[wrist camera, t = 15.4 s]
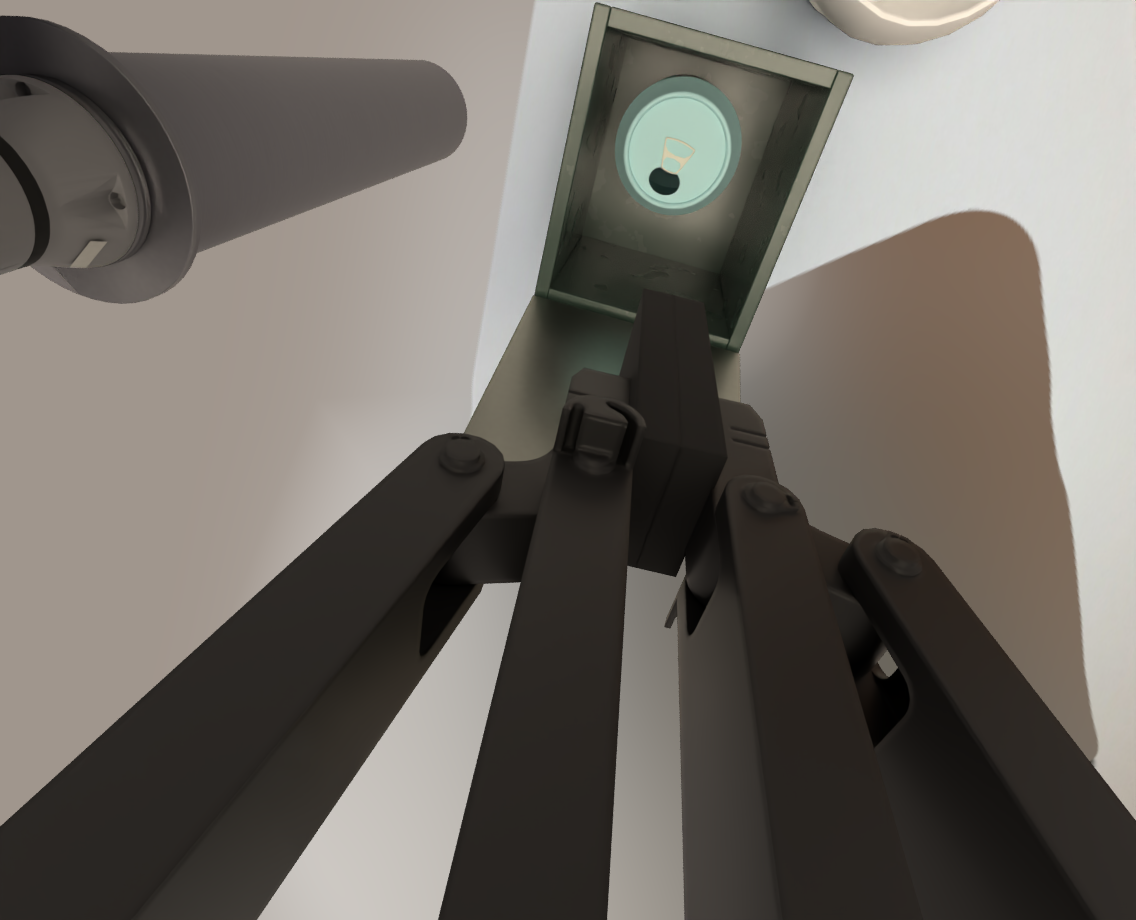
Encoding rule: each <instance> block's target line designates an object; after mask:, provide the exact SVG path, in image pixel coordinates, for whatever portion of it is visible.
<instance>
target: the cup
mask: <svg viewBox="0 0 1136 920" xmlns="http://www.w3.org/2000/svg"><path fill="white" fill-rule="evenodd" d="M809 1H810V2H811V4H812V5H813V7H814V8H815V9H816V10H817V11H818V12H820V13H821V14H822V15H824V16H825V17H826V18H827V19H828V21H829V22H831V23H832V24H833V25H835V26H836V27H837V28H839V29H840V30H842V31H843V32H844V33H846V34H847V35H848V36H850V37H852V38H855V39H858V40H861V41H865V42H868V43H871V44H874V45H909V44H918V43H922V42H925V41H929V40H932V39H935V38H939V37H942V36H946V35H949V34H951V33H953V32H955V31H956V30H958V29H960V28H962V27H963V26H965V25H967V24H969V23H970V22H972V21H974V20H976V19H977V18H979V17H981V16H982V15H984V14H985V13H986V12H987V11H988V10H989V9H990V8H992V7H993V6H994V5H995V4H996V3H997V2H998V1H1000V0H809Z"/></svg>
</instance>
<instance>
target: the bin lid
mask: <svg viewBox="0 0 1136 920" xmlns="http://www.w3.org/2000/svg"><path fill="white" fill-rule="evenodd" d="M632 328H633V323H630V322H626V321H623V320H619V319H616V318H612V317H609V316H605V315H602V314H598V313H595V312H591V311H587V310H584V309H580V308H577V307H573V306H570V305H566V304H563V303H559V302H556V301H552V300H549V299H545V298H542V297H538V296H535V295H534V296H533V297H532V299H531V301H530V303H529V305H528V307H527V309H526V311H525V313H524V315H523V317H522V319H521V321H520V323H519V325H518V326H517V328H516V330H515V332H514V334H513V336H512V338H511V340H510V342H509V344H508V346H507V348H506V350H505V352H504V354H503V356H502V358H501V360H500V362H499V364H498V366H497V368H496V370H495V372H494V374H493V376H492V378H491V380H490V382H489V384H488V386H487V388H486V390H485V392H484V394H483V396H482V398H481V400H480V402H479V404H478V406H477V408H476V410H475V412H474V414H473V416H472V418H471V420H470V422H469V424H468V426H467V428H466V430H465V432H464V434H470V435H473V436H477V437H481V438H483V439H485V440H487V441H489V442H490V443H492V444H494V445H495V446H496V447H497V448H498V449H499V450H500V452H501V453H502V454H503V457H504V461H528V460H532V459H537V458H539V457H541V456H544V455H546V454H547V453H548V452H549V451H550V450H552V449H553V447H554V444H555V440H556V435H557V431H558V426H559V422H560V418H561V413H562V409H563V407H564V405H565V403H566V398H567V394H568V390H569V386H570V382H571V378H572V376H574V375H575V374H576V373H578V372H579V371H580V370H582V369H583V368H584V367H585V368H589V369H593V370H597V371H602V372H606V373H610V374H614V375H618V376H619V374H620V371H621V367H622V363H623V360H624V356H625V353H626V349H627V346H628V342H629V339H630V335H631V331H632ZM711 351H712V357H713V364H714V370H715V377H716V384H717V390H718V397H719V398H723V399H727V400H731V401H735V402H739V403H741V400H740V399H741V398H740V354H739V353H736V352H732V351H728V350H725V349H721V348H718V347H714V346H711Z"/></svg>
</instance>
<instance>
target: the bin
mask: <svg viewBox="0 0 1136 920" xmlns="http://www.w3.org/2000/svg"><path fill="white" fill-rule="evenodd" d="M681 74H685V75H693V76H697V77H700V78H703V79H704V80H706V81H708V82H709V83H711V84H712V85H714V86H715V87H717V88H718V89H719V90H720V91H721V92H723V93H724V95H725V96H726V97H727V98H728V99H729V101H730V102H731V104H732V105H733V107H734V109H735V111H736V113H737V116H738V119H739V122H740V127H741V134H742V146H741V154H740V159H739V163H738V166H737V169H736V171H735V173H734V176H733V177H732V179H731V181H730V183H729V184H728V186H727V187H726V188H725V189H724V191H723V192H722V193H721V194H720V195H719V196H718V197H717V198H716V199H715V200H714V201H712V202H711V203H710V204H708V205H707V206H705V207H703V208H701V209H699V210H697V211H695V212H692V213H688V214H684V215H664V214H659V213H656V212H653V211H650V210H648V209H646V208H645V207H643V206H642V205H640V204H639V203H638V202H636V201H635V200H634V199H633V198H632V197H631V195H630V194H629V193H628V192H627V190H626V189H625V187H624V185H623V184H622V182H621V179H620V177H619V174H618V171H617V167H616V161H615V141H616V135H617V131H618V128H619V125H620V122H621V120H622V117H623V115H624V114H625V112H626V110H627V109H628V107H629V105H630V104H631V103H632V102H633V100H634V99H635V98H636V97H637V96H638V95H639V94H640V93H641V92H643V91H644V90H645V89H647V88H648V87H649V86H651V85H653V84H655V83H656V82H658V81H660V80H662V79H664V78H667V77H670V76H674V75H681ZM853 77H854V75H853V74H851V73H848V72H844V71H841V70H837V69H834V68H830V67H826V66H823V65H819V64H816V63H812V62H809V61H805V60H801V59H798V58H794V57H791V56H787V55H784V54H780V53H776V52H773V51H769V50H766V49H762V48H759V47H755V46H751V45H748V44H744V43H741V42H737V41H734V40H730V39H726V38H723V37H719V36H716V35H712V34H708V33H705V32H701V31H698V30H694V29H691V28H687V27H683V26H680V25H676V24H673V23H669V22H666V21H662V20H658V19H655V18H651V17H648V16H644V15H641V14H637V13H633V12H630V11H626V10H623V9H619V8H616V7H610V6H608V5H605V4H601V3H598V2H596V3H595V4H594V9H593V14H592V19H591V24H590V29H589V33H588V38H587V43H586V48H585V53H584V58H583V62H582V67H581V72H580V77H579V82H578V87H577V91H576V96H575V101H574V106H573V111H572V116H571V120H570V125H569V130H568V135H567V140H566V145H565V149H564V154H563V159H562V164H561V169H560V174H559V178H558V183H557V188H556V193H555V198H554V203H553V207H552V212H551V217H550V222H549V227H548V232H547V236H546V241H545V246H544V251H543V256H542V261H541V265H540V270H539V275H538V280H537V285H536V290H535V294H534V295H535V296H538V297H542V298H545V299H549V300H552V301H556V302H559V303H563V304H566V305H570V306H573V307H577V308H580V309H584V310H587V311H591V312H595V313H598V314H602V315H605V316H609V317H612V318H616V319H619V320H623V321H626V322H630V323H633V324H634V321H635V317H636V314H637V310H638V307H639V303H640V299H641V296H642V292H643V289H644V288H645V289H649V290H653V291H658V292H662V293H666V294H670V295H674V296H678V297H683V298H687V299H691V300H695V301H699V302H703V303H704V305H705V312H706V318H707V325H708V331H709V338H710V344H711V346H714V347H718V348H721V349H725V350H728V351H732V352H736V353H739V351H740V348H741V346H742V343H743V341H744V339H745V336H746V334H747V331H748V329H749V327H750V324H751V322H752V319H753V317H754V315H755V312H756V310H757V307H758V305H759V303H760V300H761V298H762V295H763V293H764V291H765V288H766V286H767V283H768V281H769V279H770V276H771V274H772V271H773V269H774V267H775V264H776V262H777V259H778V257H779V255H780V252H781V250H782V247H783V245H784V243H785V240H786V238H787V235H788V233H789V231H790V228H791V226H792V223H793V221H794V219H795V216H796V214H797V211H798V209H799V207H800V204H801V202H802V199H803V197H804V195H805V192H806V190H807V187H808V185H809V183H810V180H811V178H812V175H813V173H814V171H815V168H816V166H817V163H818V161H819V159H820V156H821V154H822V151H823V149H824V147H825V144H826V142H827V139H828V137H829V135H830V132H831V130H832V127H833V125H834V123H835V120H836V118H837V115H838V113H839V111H840V108H841V106H842V103H843V101H844V98H845V96H846V94H847V91H848V89H849V86H850V84H851V82H852V79H853Z"/></svg>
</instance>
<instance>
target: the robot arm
mask: <svg viewBox="0 0 1136 920" xmlns="http://www.w3.org/2000/svg"><path fill="white" fill-rule="evenodd" d="M150 220H151V203H150V196H149V190H148V186H147V182H146V179H145V176H144V173H143V171H142V168H141V166H140V164H139V161H138V159H137V157H136V155H135V153H134V151H133V150H132V148H131V146H130V145H129V143H128V141H127V140H126V139H125V137H124V136H123V134H122V133H121V131H120V130H119V129H118V128H117V126H116V125H115V124H114V123H113V122H112V120H111V119H110V118H109V117H108V116H107V115H106V114H105V113H104V112H103V111H102V110H101V109H100V108H99V107H98V106H97V105H96V104H95V103H93V102H92V101H91V100H90V99H88V98H87V97H86V96H84V95H83V94H82V93H80V92H79V91H77V90H76V89H74V88H72V87H70V86H69V85H67V84H65V83H63V82H60V81H58V80H56V79H53V78H50V77H47V76H42V75H37V74H5V75H0V275H1V274H4V273H7V272H11V271H13V270H16V269H20V268H23V267H27V266H48V267H67V268H96V267H104V266H108V265H111V264H114V263H117V262H120V261H123V260H125V259H127V258H129V257H131V256H132V255H133V254H134V253H136V252H137V251H138V249H139V248H140V247H141V246H142V244H143V243H144V241H145V239H146V236H147V234H148V231H149V226H150ZM684 557H685V561H686V575H685V578H684V580H683V582H682V584H681V587H680V589H679V591H678V593H677V596H676V598H675V600H674V602H673V605H672V607H671V609H670V611H669V614H668V616H667V618H666V622H665V627H666V628H671V626H672V624H673V621H674V619H675V618H676V617H677V624H678V665H679V705H680V706H679V707H680V748H681V789H682V831H683V872H684V911H685V912H684V914H685V920H1136V820H1135V819H1134V818H1133V817H1132V815H1131V814H1130V813H1129V811H1128V810H1127V809H1126V808H1125V806H1124V805H1123V804H1122V802H1121V801H1120V800H1119V798H1118V797H1117V796H1116V795H1115V793H1114V792H1113V791H1112V789H1111V788H1110V787H1109V786H1108V784H1107V783H1106V782H1105V780H1104V779H1103V778H1102V777H1101V775H1100V774H1099V773H1098V771H1097V770H1096V769H1095V768H1094V766H1093V765H1092V764H1091V762H1090V761H1089V760H1088V759H1087V757H1086V756H1085V755H1084V753H1083V752H1082V751H1081V750H1080V748H1079V747H1078V746H1077V744H1076V743H1075V742H1074V741H1073V739H1072V738H1071V737H1070V735H1069V734H1068V733H1067V731H1066V730H1065V729H1064V728H1063V726H1062V725H1061V724H1060V722H1059V721H1058V720H1057V719H1056V717H1055V716H1054V715H1053V713H1052V712H1051V711H1050V710H1049V708H1048V707H1047V706H1046V704H1045V703H1044V702H1043V701H1042V699H1041V698H1040V697H1039V695H1038V694H1037V693H1036V692H1035V690H1034V689H1033V688H1032V686H1031V685H1030V684H1029V683H1028V681H1027V680H1026V679H1025V677H1024V676H1023V675H1022V673H1021V672H1020V671H1019V670H1018V668H1017V667H1016V666H1015V664H1014V663H1013V662H1012V661H1011V659H1010V658H1009V657H1008V655H1007V654H1006V653H1005V652H1004V650H1003V649H1002V648H1001V647H1000V645H999V644H998V643H997V641H996V640H995V639H994V638H993V636H992V635H991V634H990V632H989V631H988V630H987V628H986V627H985V626H984V625H983V623H982V622H981V621H980V620H979V618H978V617H977V616H976V614H975V613H974V612H973V610H972V609H971V608H970V607H969V605H968V604H967V603H966V601H965V600H964V599H963V597H962V596H961V595H960V594H959V592H958V591H957V590H956V588H955V587H954V586H953V585H952V583H951V582H950V581H949V579H948V578H947V577H946V576H945V574H944V573H943V572H942V570H941V569H940V568H939V567H938V565H937V564H936V563H935V561H934V560H933V559H932V558H931V557H930V556H929V555H928V554H927V553H926V552H925V551H924V550H923V549H922V548H920V547H919V546H917V545H916V544H914V543H913V542H911V541H910V540H909V539H908V538H906V537H904V536H902V535H901V536H900V535H899V534H897V533H893V532H891V531H886V530H882V529H877V528H872V529H863V530H861V531H860V532H859V533H857V534H856V535H855V536H854V538H853V540H852V541H851V543H850V544H849V543H847V542H845V541H842V540H840V539H838V538H836V537H833V536H831V535H829V534H827V533H825V532H822V531H820V530H819V529H816V528H815V527H813V526H811V525H809V523H808V519H807V516H806V512H805V509H804V508H803V506H802V504H801V502H800V500H799V499H798V498H797V497H796V496H795V495H794V494H793V493H792V492H791V491H790V490H788V489H787V488H785V487H784V486H782V485H780V484H779V483H778V479H777V475H776V471H775V467H774V463H773V459H772V456H771V451H770V450H769V443H768V439H767V438H766V431H765V428H764V423H763V420H762V419H761V418H760V416H759V415H758V414H757V413H756V412H755V411H754V409H753V408H752V407H751V406H750V405H748V404H744V403H739V402H735V401H731V400H727V399H723V398H719V397H718V390H717V384H716V377H715V370H714V364H713V357H712V351H711V344H710V338H709V331H708V325H707V318H706V312H705V305H704V303H703V302H699V301H695V300H691V299H687V298H683V297H678V296H674V295H670V294H666V293H662V292H658V291H653V290H649V289H645V288H644V289H643V292H642V296H641V299H640V303H639V307H638V310H637V314H636V317H635V321H634V324H633V328H632V331H631V335H630V339H629V342H628V346H627V349H626V353H625V356H624V360H623V363H622V367H621V371H620V374H619V376H618V375H614V374H610V373H606V372H602V371H597V370H593V369H589V368H585V367H584V368H583V369H582V370H580V371H579V372H578V373H576V374H575V375H574V376H572V378H571V382H570V386H569V390H568V394H567V398H566V403H565V405H564V407H563V409H562V413H561V418H560V422H559V426H558V431H557V435H556V440H555V444H554V447H553V449H552V450H550V451H549V452H548V453H547V454H546V455H544V456H541V457H539V458H537V459H532V460H528V461H504V457H503V454H502V453H501V452H500V450H499V449H498V448H497V447H496V446H495V445H494V444H492V443H490V442H489V441H487V440H485V439H483V438H481V437H477V436H473V435H470V434H464V433H448V434H443V435H438V436H434V437H433V438H431V439H429V440H427V441H426V442H424V443H423V444H422V445H421V446H420V447H418V448H417V449H416V450H415V451H414V452H413V453H412V454H411V455H409V456H408V457H407V458H406V459H405V460H404V461H403V462H402V463H401V464H400V465H398V466H397V467H396V468H395V469H394V470H393V471H392V472H391V473H390V474H388V476H386V477H385V478H384V479H383V480H382V481H381V482H380V483H379V484H378V485H376V486H375V487H374V488H373V489H372V490H371V491H370V492H369V493H368V494H366V496H364V497H363V498H362V499H361V500H360V501H359V502H358V503H357V504H355V505H354V506H353V507H352V508H351V509H350V510H349V511H348V512H347V513H346V514H344V515H343V516H342V517H341V518H340V519H339V520H338V521H337V522H336V523H334V524H333V525H332V526H331V527H330V528H329V529H328V530H327V531H326V532H325V533H323V535H321V536H320V537H319V538H318V539H317V540H316V541H315V542H314V543H312V544H311V545H310V546H309V547H308V548H307V549H306V550H305V551H304V552H302V553H301V554H300V555H299V556H298V557H297V558H296V559H295V560H294V561H293V562H292V563H290V564H289V565H288V566H287V567H286V568H285V569H284V570H283V571H282V572H280V573H279V574H278V575H277V576H276V577H275V578H274V579H273V580H272V581H270V582H269V583H268V584H267V585H266V586H265V587H264V588H263V589H262V590H261V591H259V592H258V593H257V594H256V595H255V596H254V597H253V598H252V599H251V600H250V601H249V602H247V603H246V604H245V605H244V606H243V607H242V608H241V609H240V610H238V611H237V612H236V613H235V614H234V615H233V616H232V617H231V618H230V619H229V620H227V621H226V622H225V623H224V624H223V625H222V626H221V627H220V628H219V629H218V630H216V631H215V632H214V633H213V634H212V635H211V636H210V637H209V638H208V639H207V640H205V641H204V642H203V643H202V644H201V645H200V646H199V647H198V648H197V649H196V650H194V651H193V652H192V653H191V654H190V655H189V656H188V657H187V658H186V659H184V660H183V661H182V662H181V663H180V664H179V665H178V666H177V667H176V668H175V669H173V670H172V671H171V672H170V673H169V674H168V675H167V676H166V677H165V678H164V679H162V680H161V681H160V682H159V683H158V684H157V685H156V686H155V687H154V688H153V689H151V690H150V691H149V692H148V693H147V694H146V695H145V696H144V697H143V698H141V700H139V701H138V702H137V703H136V704H135V705H134V706H133V707H132V708H131V709H129V710H128V711H127V712H126V713H125V714H124V715H123V716H122V717H121V718H119V719H118V720H117V721H116V722H115V723H114V724H113V725H112V726H111V727H109V728H108V729H107V730H106V731H105V732H104V733H103V734H102V735H101V736H100V737H98V738H97V739H96V740H95V741H94V742H93V743H92V744H91V745H90V746H89V747H87V748H86V749H85V750H84V751H83V752H82V753H81V754H80V755H79V756H77V757H76V758H75V759H74V760H73V761H72V762H71V763H70V764H69V765H68V766H66V767H65V768H64V769H63V770H62V771H61V772H60V773H59V774H58V775H57V776H55V777H54V778H53V779H52V780H51V781H50V782H49V783H48V784H47V785H46V786H44V787H43V788H42V789H41V790H40V791H39V792H38V793H37V794H36V795H35V796H33V797H32V798H31V799H30V800H29V801H28V802H27V803H26V804H25V805H23V807H21V808H20V809H19V810H18V811H17V812H16V813H15V814H14V815H13V816H12V817H10V818H9V819H8V820H7V821H6V822H5V823H4V824H3V825H1V826H0V920H257V919H258V917H259V916H260V914H261V913H262V911H263V910H264V908H265V907H266V905H267V904H268V902H269V901H270V900H271V898H272V896H273V895H274V894H275V892H276V891H277V889H278V888H279V886H280V885H281V884H282V882H283V881H284V879H285V878H286V876H287V875H288V873H289V872H290V870H291V869H292V867H293V866H294V864H295V863H296V862H297V860H298V859H299V857H300V856H301V854H302V853H303V851H304V850H305V848H306V847H307V845H308V844H309V842H310V841H311V840H312V838H313V837H314V835H315V834H316V832H317V831H318V829H319V828H320V826H321V825H322V823H323V822H324V821H325V819H326V818H327V816H328V815H329V813H330V812H331V810H332V809H333V807H334V806H335V804H336V803H337V802H338V800H339V799H340V797H341V796H342V794H343V793H344V791H345V790H346V788H347V787H348V785H349V784H350V782H351V781H352V780H353V778H354V777H355V775H356V774H357V772H358V771H359V769H360V768H361V766H362V765H363V763H364V762H365V761H366V759H367V758H368V756H369V755H370V753H371V752H372V750H373V749H374V747H375V746H376V744H377V743H378V741H379V740H380V739H381V737H382V736H383V734H384V733H385V731H386V730H387V728H388V727H389V725H390V724H391V722H392V721H393V720H394V718H395V716H396V715H397V714H398V712H399V711H400V709H401V708H402V706H403V705H404V703H405V702H406V700H407V699H408V698H409V696H410V695H411V693H412V692H413V690H414V689H415V687H416V686H417V684H418V683H419V681H420V680H421V679H422V677H423V675H424V674H425V673H426V671H427V670H428V668H429V667H430V665H431V664H432V662H433V661H434V659H435V658H436V657H437V655H438V654H439V652H440V651H441V649H442V648H443V646H444V645H445V643H446V642H447V640H448V639H449V638H450V636H451V635H452V633H453V632H454V630H455V628H456V627H457V626H458V624H459V623H460V621H461V620H462V618H463V617H464V616H465V614H466V613H467V611H468V610H469V608H470V607H471V605H472V604H473V602H474V601H475V599H476V598H477V596H478V595H479V594H480V592H481V590H482V587H483V584H486V583H487V584H488V583H514V582H521V583H520V588H519V591H518V596H517V600H516V604H515V608H514V612H513V616H512V620H511V624H510V628H509V633H508V636H507V640H506V645H505V649H504V653H503V657H502V661H501V665H500V669H499V673H498V677H497V681H496V686H495V690H494V694H493V698H492V702H491V706H490V710H489V714H488V718H487V722H486V726H485V731H484V734H483V739H482V743H481V747H480V751H479V755H478V759H477V764H476V767H475V771H474V775H473V779H472V783H471V788H470V792H469V796H468V800H467V804H466V808H465V812H464V816H463V820H462V824H461V828H460V833H459V837H458V841H457V845H456V849H455V853H454V857H453V861H452V865H451V869H450V873H449V877H448V881H447V886H446V890H445V894H444V898H443V902H442V906H441V910H440V914H439V918H438V920H607V911H608V910H607V909H608V893H609V876H610V875H609V874H610V858H611V841H612V824H613V806H614V789H615V788H614V787H615V771H616V754H617V753H616V752H617V736H618V719H619V701H620V684H621V683H620V682H621V666H622V649H623V632H624V614H625V596H626V580H627V566H631V567H635V568H640V569H644V570H648V571H652V572H657V573H661V574H665V575H670V576H674V577H676V575H677V573H678V571H679V569H680V566H681V564H682V562H683V559H684ZM887 650H888V652H889V653H890V655H891V657H892V658H893V660H894V661H895V663H896V665H897V666H898V669H897V670H896V671H895V672H894V673H893V674H892V675H891V676H890V677H888V676H886V674H885V673H884V672H883V671H882V669H881V668H880V666H879V664H878V661H879V660H880V658H881V657H882V656H883V655H884V653H885V652H886V651H887Z"/></svg>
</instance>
